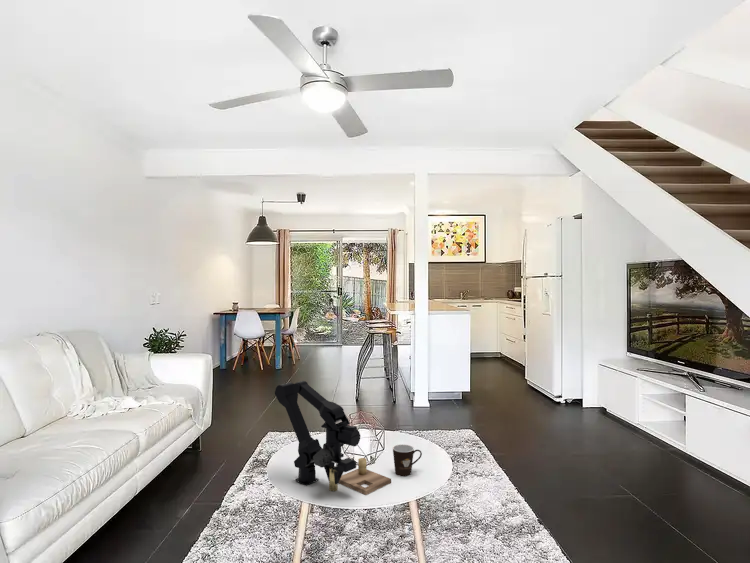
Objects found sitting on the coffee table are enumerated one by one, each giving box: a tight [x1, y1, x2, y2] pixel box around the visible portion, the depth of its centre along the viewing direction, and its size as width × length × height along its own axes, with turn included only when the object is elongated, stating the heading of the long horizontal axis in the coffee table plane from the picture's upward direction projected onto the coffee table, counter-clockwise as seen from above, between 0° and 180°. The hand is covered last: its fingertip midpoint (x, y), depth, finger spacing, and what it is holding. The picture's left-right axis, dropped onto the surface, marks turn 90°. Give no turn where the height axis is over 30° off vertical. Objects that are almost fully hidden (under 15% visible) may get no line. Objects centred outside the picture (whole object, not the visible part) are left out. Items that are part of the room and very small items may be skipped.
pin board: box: [338, 457, 392, 496], centre depth 178 cm, size 16×14×7 cm
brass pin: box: [328, 465, 339, 492], centre depth 172 cm, size 3×3×8 cm
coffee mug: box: [392, 444, 423, 477], centre depth 186 cm, size 12×9×10 cm
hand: (333, 482), depth 172 cm, fingers closed on brass pin, 3 cm apart
